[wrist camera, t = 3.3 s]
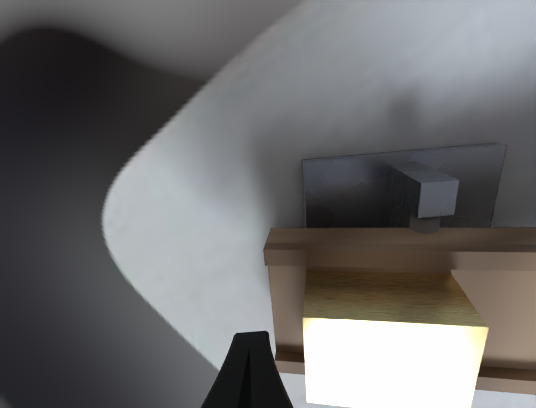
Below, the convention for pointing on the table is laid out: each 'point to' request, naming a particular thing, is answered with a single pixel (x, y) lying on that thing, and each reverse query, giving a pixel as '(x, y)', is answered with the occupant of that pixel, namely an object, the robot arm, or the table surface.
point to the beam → (419, 261)
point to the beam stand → (404, 187)
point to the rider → (390, 340)
